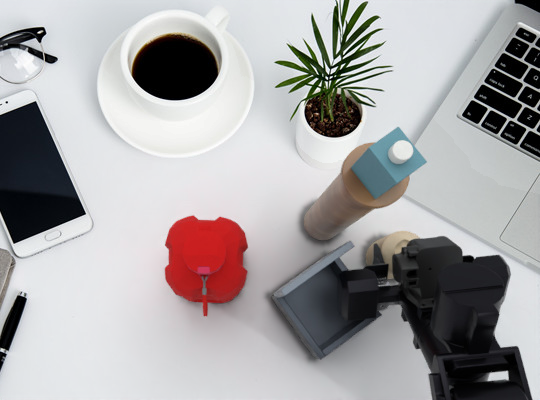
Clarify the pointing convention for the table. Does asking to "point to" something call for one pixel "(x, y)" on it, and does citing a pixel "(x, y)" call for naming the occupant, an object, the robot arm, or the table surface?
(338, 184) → the tall beige cylinder
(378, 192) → the teal milk carton
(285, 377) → the table surface
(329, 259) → the lid
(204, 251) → the red rounded piece
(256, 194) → the table surface
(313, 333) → the open box
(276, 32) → the table surface
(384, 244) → the candle
